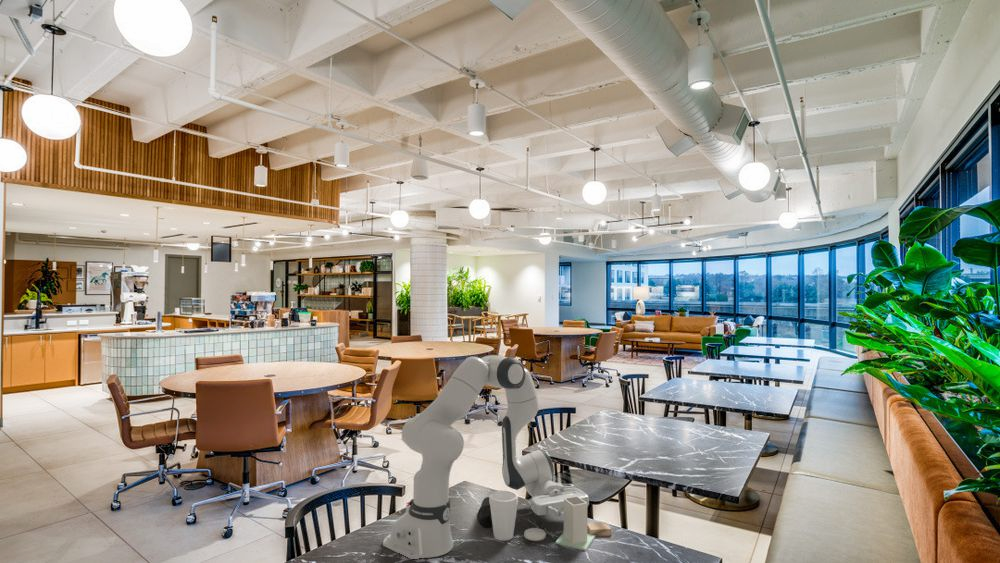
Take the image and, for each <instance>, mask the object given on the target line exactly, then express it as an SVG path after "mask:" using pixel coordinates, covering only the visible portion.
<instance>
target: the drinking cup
mask: <svg viewBox="0 0 1000 563" xmlns="http://www.w3.org/2000/svg"><path fill="white" fill-rule="evenodd" d="M476 519H477V523H478V524H479V525H480V526H481V527H482V528H485V529H493V525H492V517H491V508H490V503H489V496H488V497H485V498H483V500H482V502H481V505H480V508H479V509H478V512H477V514H476Z"/></svg>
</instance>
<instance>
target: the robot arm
mask: <svg viewBox="0 0 1000 563" xmlns="http://www.w3.org/2000/svg"><path fill="white" fill-rule="evenodd" d="M484 386H490V387H493V388H496V389H498V388H499V389H503V390H504V392H505V396H506V397H505V398H506V401H507V407H506V413H505V416H504V417H503V418H502V421H501V442H502V443H501V444H502V468H501V470H502V472H501V473H502V478H503V481H504V482H503V483H504V484H505V485H506V486H507V487H508V488H510V489H512V490H516V491H518V490H520V489H522V488H524V489H525V490H526V491H527V493H528V494H529V496H531V498H529V499H528V500H526V503H527V505H528V506H530V507H531V510H532V511H533V513H534V514H535V515H537V516H545V515H552V516H555V517H561V516H562V515H561V513H562V512H564V498H570V497H576V496H578V497H579V498H581V499H582V500H583V501H585V502H586V503H587V508H588V507H589V505H590V500H589V499H590V498H589V495H588V494H587V493H585V492H584V491H583V490H581V489H580V488H577V487H575V485H574V484H573V483H560V482H554V481H553V479H554V475H555V467H554V463H553V460H552V458H551V456H549V454H548V453H546V452H545V451H543V450H541V449H537V450H534V451H531V452H528V453H527V454H524V455H522V456H519V457H517V445H516V444H517V442H516V441H517V437H518V435H519V433H520V432H521V431H522V430H524V429H523V428H525V427H526V426H527V425H528V424H530V423H531V422H532V421H533V419H534V418H535V417H536V416H537V413H538V412H539V399H538V394H537V390H536V387H535V386H536V385H535V382H534V380H533V378H532V375H531V373H530V371H529V369H527V368H525V367H524V365H523V363H522V362H521V361H520V360H518V359H516V358H514V357H510V356H508V357H507V356H503V355H498V354H495V355H494V354H491V355H490V354H486V355H481V356H479V357H478V356H469V357H467V358H466V359H464V360H463V362H461V363H460V364H459V366H458V367H457V368H456V369H455V370H454V372H453V374H452V375H451V377H450V378H449V379H448V381H447V382H446V384H445V386H444V387H443V388H442V390H441V391H440V393H439V394H438V396H437V397H436V398H435V399H434V400H433V401H432V402H431V403H430V404H429V405H428V406H427V407H426V408H425V409H424V410H422V411H421V412H420V413H419V414H417V415H416V416H413V417H412V418H411V417H410V418H409V419H408V420H407V421H406V422H405V423H404V425H403V426H402V430H401V439H402V441H403V443H405V445H406V446H407V447H408V448H409V449H410V450H411V451H414V452H416V453H419V455H420V454H421V456H422V460H421V465H420V469H419V470H417V471H416V472H415V474H414V476H413V491H412V492H413V494H412V495H413V497H412V499H410V501H408V502H407V503H406V506H405V507H406V508H408V507H409V510H407V511H406V512H405V513H403V514H402V515H401V516H399V517H398V518H397V519H395V521H393V523H392V526H391V530H390V533H389V534H388V535H387V536H385V538H384V539H383V541H382V546H383V547H385V548H387V549H389V550H390V551H392V552H395V553H397V554H399V553H400V554H399V555H401V554H402V555H401V556H403V555H404V556H403V557H405V556H406V558H407V557H408V558H407V559H409V558H411V559H418V560H420V559H419V558H422V559H427V558H436V557H437V558H438V557H440V556H443V555H446V554H447V553H449V552H451V551H452V549H453V548H454V543H455V542H454V541H453V536H452V531H451V524H450V516H451V499H450V497H449V494H450V476H451V470H452V467H453V464H454V462H455V461H456V460H458V459H459V457H460V456H461V454H462V453H463V451H464V448H465V447H464V446H465V442H464V441H465V440H464V437H463V435H462V434H461V432H459V431H458V430H457V429H456V428H455V427H453V426H452V425H453V424H455V423H456V422H457V421H459V420H461V419H463V418H465V417H466V416H467V414H469V412H470V410H471V408H472V407H473V405H474V404H475V401H476V400H477V399H478V397H479V395H480V394H481V392H482V390H483V388H484ZM411 559H410V560H411Z"/></svg>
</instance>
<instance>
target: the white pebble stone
mask: <svg viewBox="0 0 1000 563" xmlns="http://www.w3.org/2000/svg"><path fill="white" fill-rule="evenodd" d="M523 533H524V534H523V537H524V538H525V539H526V540H529V541H534V542H539V541H542V540H544V539H545V538H546V531H545V530H544V529H541V528H537V527H532V528H527V529H526V530H524V532H523Z"/></svg>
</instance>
